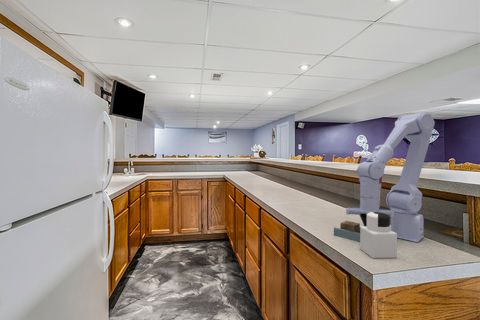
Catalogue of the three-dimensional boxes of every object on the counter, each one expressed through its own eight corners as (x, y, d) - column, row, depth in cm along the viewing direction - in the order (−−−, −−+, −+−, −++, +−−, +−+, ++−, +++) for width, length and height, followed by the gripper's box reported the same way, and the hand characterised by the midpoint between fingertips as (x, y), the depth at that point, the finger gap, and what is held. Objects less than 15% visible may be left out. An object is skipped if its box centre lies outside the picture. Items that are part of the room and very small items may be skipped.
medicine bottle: (381, 248, 78) (382, 210, 77) (397, 258, 71) (397, 216, 70) (359, 248, 78) (360, 210, 77) (372, 258, 70) (373, 216, 70)
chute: (372, 236, 89) (372, 229, 89) (362, 242, 83) (362, 234, 83) (344, 230, 96) (344, 223, 96) (333, 234, 91) (333, 228, 91)
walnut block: (359, 235, 90) (359, 223, 90) (354, 238, 87) (354, 225, 87) (346, 232, 94) (346, 220, 94) (340, 235, 91) (340, 222, 91)
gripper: (389, 195, 87) (388, 234, 87) (344, 194, 91) (344, 231, 91) (396, 199, 80) (395, 241, 81) (347, 197, 84) (347, 237, 84)
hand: (368, 236), depth 85 cm, fingers closed
